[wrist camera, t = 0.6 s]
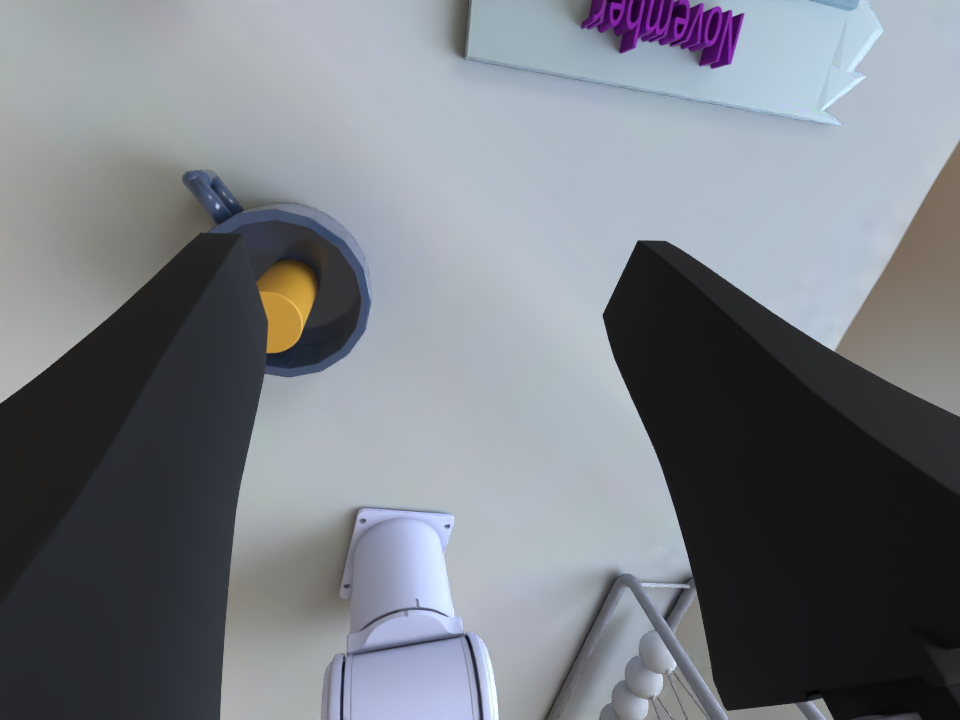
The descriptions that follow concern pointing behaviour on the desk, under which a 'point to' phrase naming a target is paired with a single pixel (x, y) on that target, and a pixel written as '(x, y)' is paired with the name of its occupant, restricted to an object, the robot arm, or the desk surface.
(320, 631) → the desk surface
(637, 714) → the newton's cradle
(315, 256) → the cup
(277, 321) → the peg
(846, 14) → the calendar
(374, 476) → the desk surface
